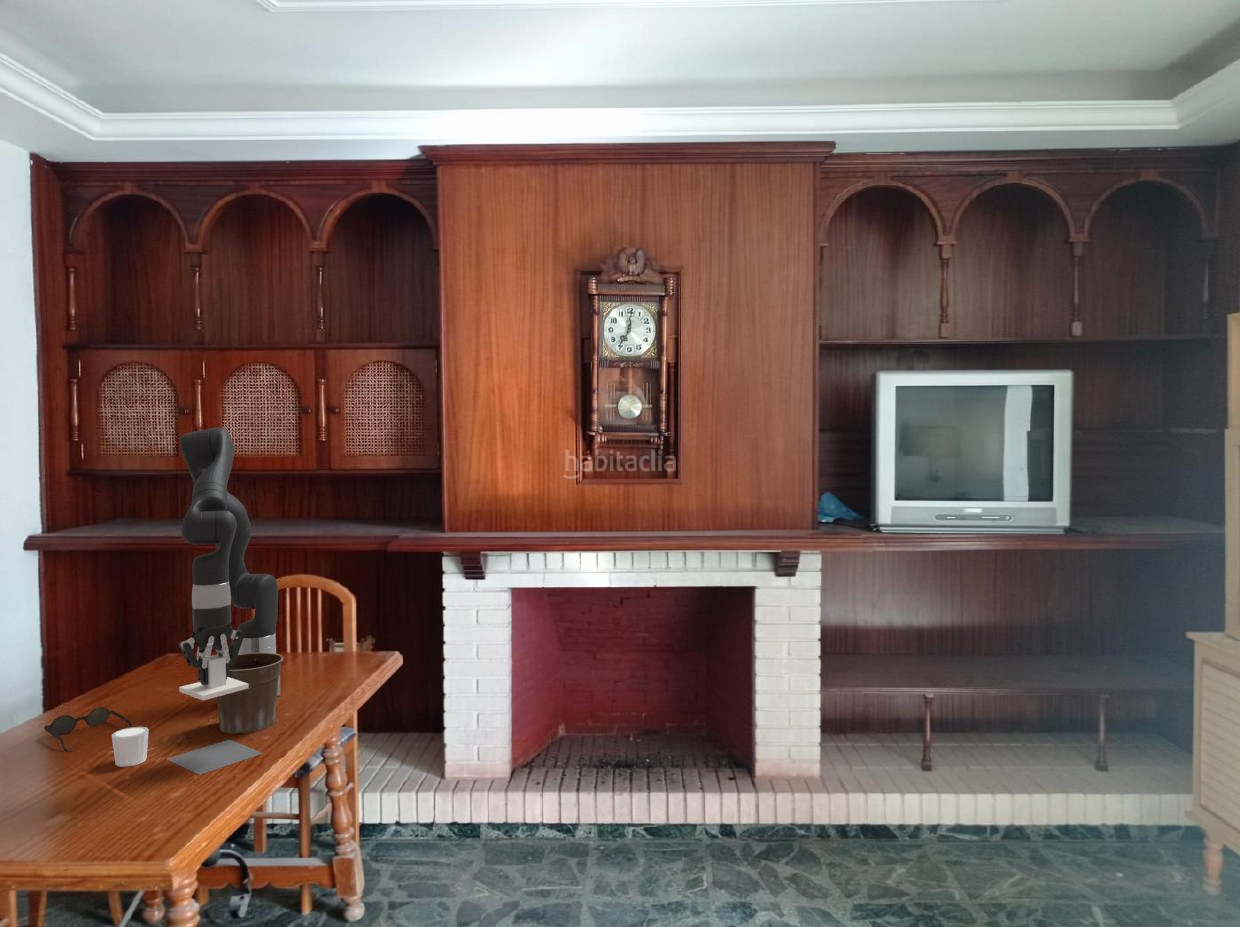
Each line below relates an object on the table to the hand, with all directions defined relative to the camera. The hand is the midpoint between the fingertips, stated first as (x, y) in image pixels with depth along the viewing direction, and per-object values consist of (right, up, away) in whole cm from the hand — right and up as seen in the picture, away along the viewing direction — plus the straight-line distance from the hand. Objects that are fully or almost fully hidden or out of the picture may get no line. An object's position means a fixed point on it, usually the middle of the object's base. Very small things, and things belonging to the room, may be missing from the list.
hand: (213, 681), depth 181 cm
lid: (0, -2, 0) cm, 2 cm away
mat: (0, -17, +1) cm, 17 cm away
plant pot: (-2, -16, +20) cm, 26 cm away
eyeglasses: (-36, -17, +14) cm, 42 cm away
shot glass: (-17, -17, -2) cm, 24 cm away
